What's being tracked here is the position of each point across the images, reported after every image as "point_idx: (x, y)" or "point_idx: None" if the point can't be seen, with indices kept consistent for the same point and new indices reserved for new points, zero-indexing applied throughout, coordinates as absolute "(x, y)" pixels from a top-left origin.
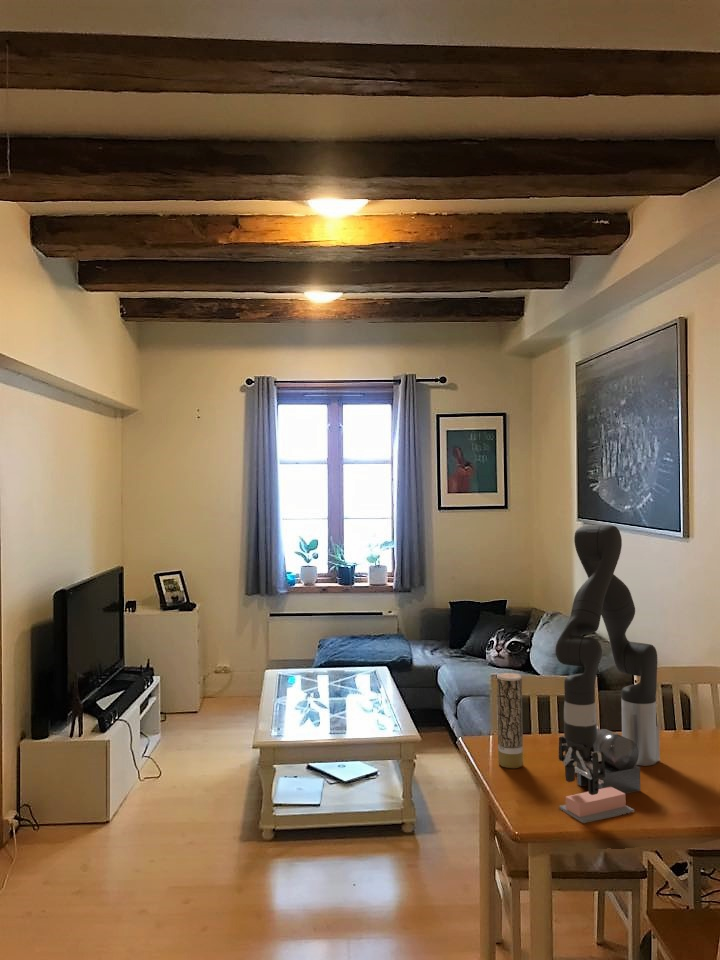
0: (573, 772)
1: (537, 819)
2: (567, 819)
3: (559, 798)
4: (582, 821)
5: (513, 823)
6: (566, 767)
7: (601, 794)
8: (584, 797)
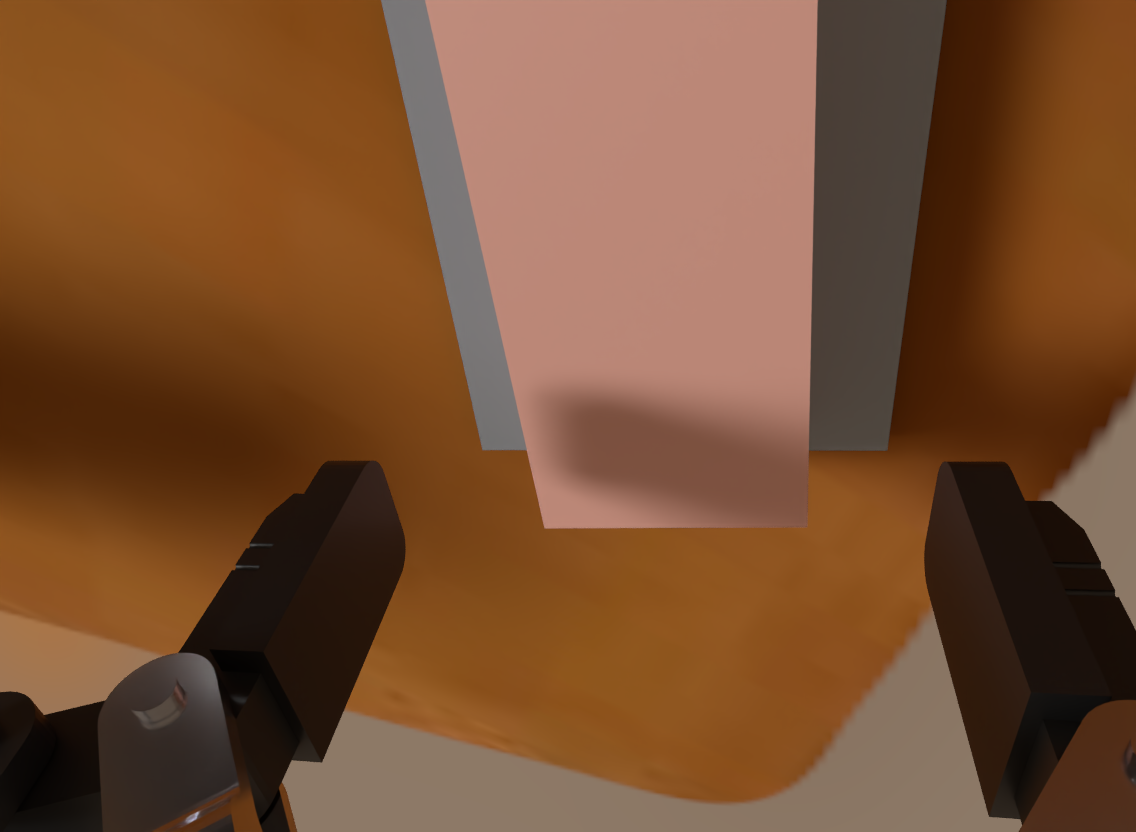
0: (329, 574)
1: (634, 661)
2: None
3: (250, 300)
4: (874, 442)
5: (634, 781)
6: (305, 751)
7: (640, 46)
8: (650, 365)
